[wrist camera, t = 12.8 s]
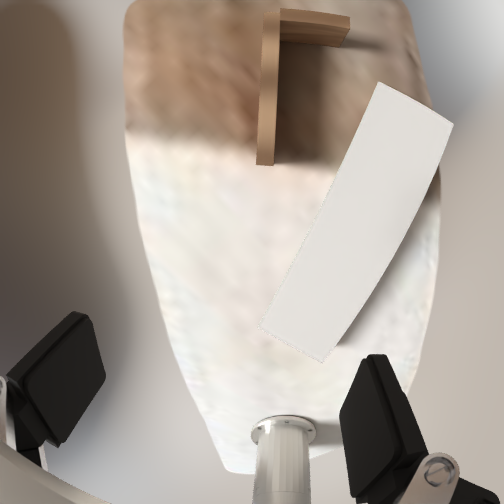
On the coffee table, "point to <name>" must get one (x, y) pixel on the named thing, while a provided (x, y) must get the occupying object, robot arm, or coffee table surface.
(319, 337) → the decorative molding
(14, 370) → the robot arm
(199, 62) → the coffee table surface
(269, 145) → the wooden corner bracket
